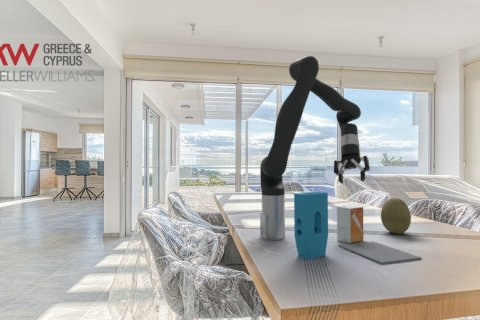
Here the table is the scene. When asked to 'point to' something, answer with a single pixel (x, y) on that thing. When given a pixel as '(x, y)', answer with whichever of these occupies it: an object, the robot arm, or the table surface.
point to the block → (311, 224)
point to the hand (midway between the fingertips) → (351, 181)
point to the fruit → (395, 216)
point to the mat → (379, 252)
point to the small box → (350, 223)
